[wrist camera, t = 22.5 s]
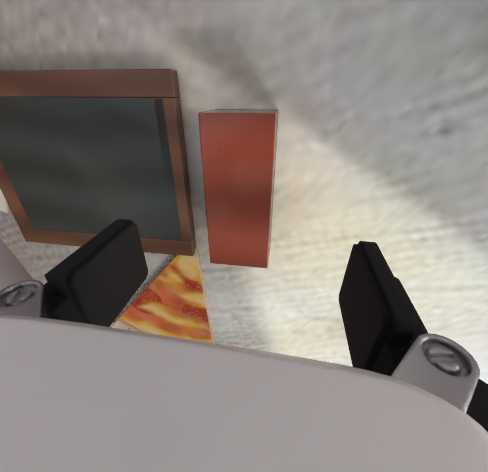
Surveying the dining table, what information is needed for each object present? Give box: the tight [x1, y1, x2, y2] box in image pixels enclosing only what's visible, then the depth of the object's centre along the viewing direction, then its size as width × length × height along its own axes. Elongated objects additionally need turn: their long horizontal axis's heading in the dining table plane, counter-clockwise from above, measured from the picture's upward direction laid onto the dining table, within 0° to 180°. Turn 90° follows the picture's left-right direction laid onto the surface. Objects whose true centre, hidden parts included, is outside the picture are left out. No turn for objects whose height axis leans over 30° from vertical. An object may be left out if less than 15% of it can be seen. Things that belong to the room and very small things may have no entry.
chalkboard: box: [0, 69, 196, 256], centre depth 26 cm, size 18×22×1 cm
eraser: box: [198, 109, 278, 268], centre depth 23 cm, size 13×6×5 cm, turn 0°
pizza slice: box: [111, 248, 214, 343], centre depth 35 cm, size 16×22×2 cm
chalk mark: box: [0, 189, 8, 213], centre depth 30 cm, size 4×2×1 cm, turn 153°
